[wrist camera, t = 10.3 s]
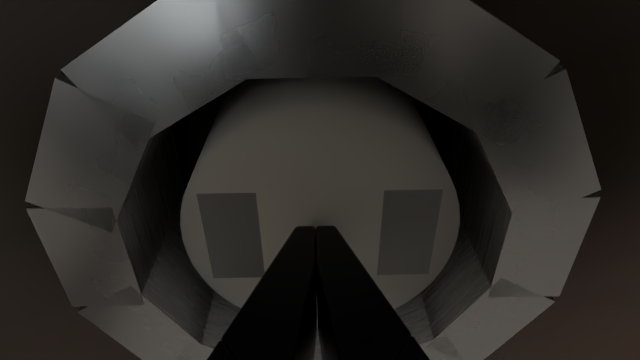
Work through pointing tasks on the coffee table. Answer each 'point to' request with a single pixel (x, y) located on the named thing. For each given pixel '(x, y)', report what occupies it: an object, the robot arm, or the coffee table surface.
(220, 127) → the white short cylinder
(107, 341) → the coffee table surface
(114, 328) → the grey segmented ring
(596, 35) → the coffee table surface
